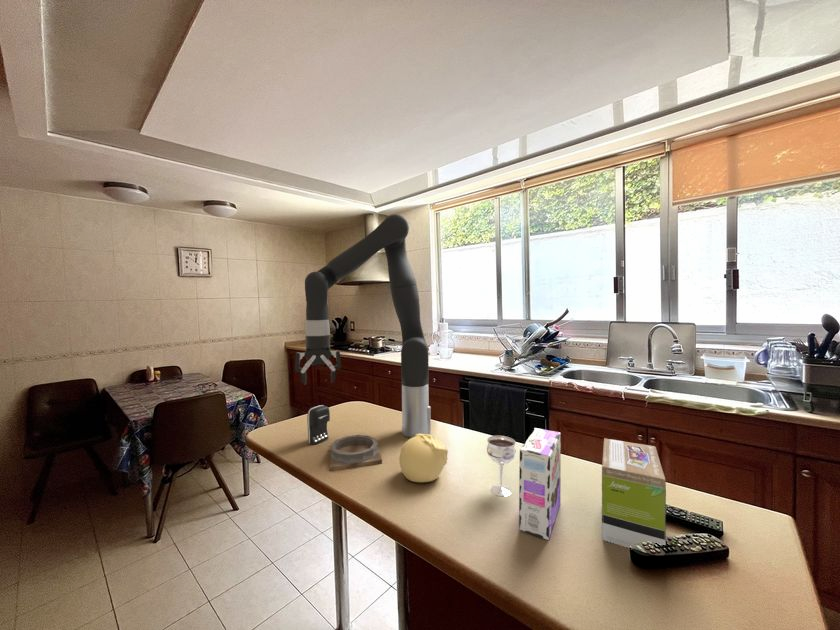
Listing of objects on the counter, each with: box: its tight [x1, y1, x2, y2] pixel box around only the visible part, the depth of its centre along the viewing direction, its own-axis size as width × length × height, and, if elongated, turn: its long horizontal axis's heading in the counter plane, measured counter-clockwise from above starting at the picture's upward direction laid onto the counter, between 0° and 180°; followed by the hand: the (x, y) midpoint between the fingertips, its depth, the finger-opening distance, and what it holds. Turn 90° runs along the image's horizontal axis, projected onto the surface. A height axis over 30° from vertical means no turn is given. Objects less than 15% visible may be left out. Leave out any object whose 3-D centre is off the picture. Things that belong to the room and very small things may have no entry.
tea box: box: [601, 437, 667, 549], centre depth 65 cm, size 15×10×15 cm, turn 150°
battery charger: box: [306, 404, 331, 445], centre depth 108 cm, size 7×4×11 cm, turn 147°
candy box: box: [518, 427, 562, 541], centre depth 69 cm, size 14×6×16 cm, turn 148°
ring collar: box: [329, 434, 383, 471], centre depth 97 cm, size 14×14×4 cm
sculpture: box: [398, 433, 449, 483], centre depth 85 cm, size 11×12×11 cm
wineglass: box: [486, 435, 517, 497], centre depth 78 cm, size 7×7×12 cm
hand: (318, 383), depth 107 cm, fingers open, 8 cm apart
